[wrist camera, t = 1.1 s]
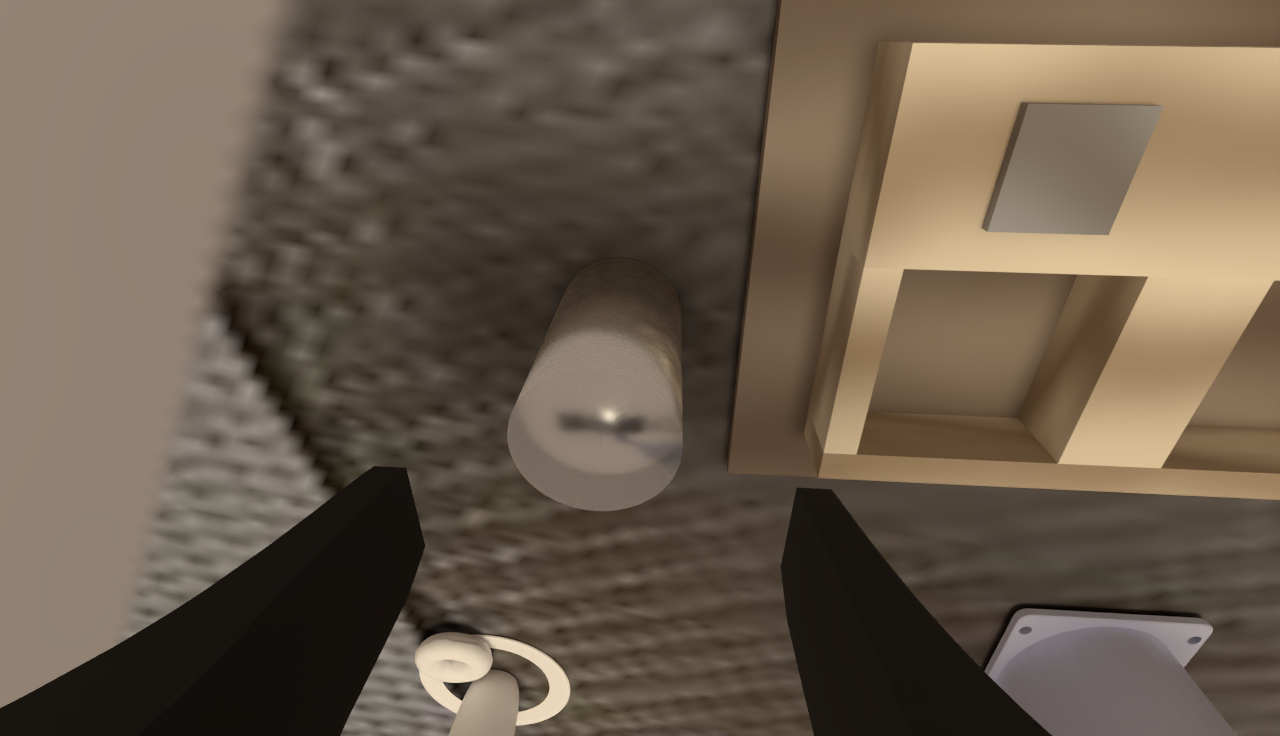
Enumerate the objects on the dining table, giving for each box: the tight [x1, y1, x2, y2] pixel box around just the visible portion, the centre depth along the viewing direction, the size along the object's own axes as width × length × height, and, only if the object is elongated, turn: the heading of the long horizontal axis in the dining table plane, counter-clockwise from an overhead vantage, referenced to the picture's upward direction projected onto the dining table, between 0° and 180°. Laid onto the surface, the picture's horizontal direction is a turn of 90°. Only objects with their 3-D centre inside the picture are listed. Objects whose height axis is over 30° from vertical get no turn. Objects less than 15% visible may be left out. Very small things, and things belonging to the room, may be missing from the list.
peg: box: [507, 258, 683, 511], centre depth 16 cm, size 4×4×7 cm
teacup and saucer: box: [415, 632, 570, 736], centre depth 29 cm, size 9×8×4 cm
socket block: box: [727, 0, 1280, 500], centre depth 16 cm, size 16×22×3 cm
